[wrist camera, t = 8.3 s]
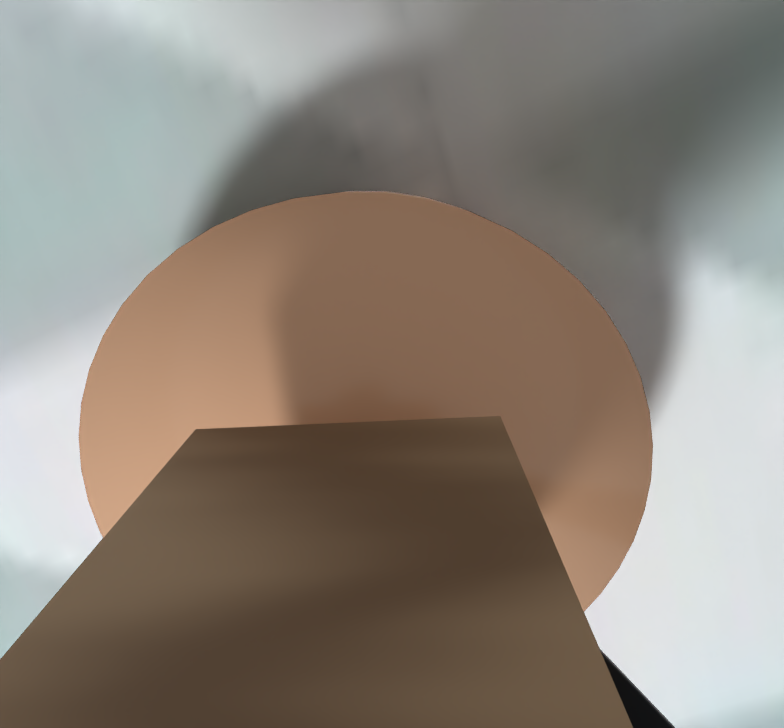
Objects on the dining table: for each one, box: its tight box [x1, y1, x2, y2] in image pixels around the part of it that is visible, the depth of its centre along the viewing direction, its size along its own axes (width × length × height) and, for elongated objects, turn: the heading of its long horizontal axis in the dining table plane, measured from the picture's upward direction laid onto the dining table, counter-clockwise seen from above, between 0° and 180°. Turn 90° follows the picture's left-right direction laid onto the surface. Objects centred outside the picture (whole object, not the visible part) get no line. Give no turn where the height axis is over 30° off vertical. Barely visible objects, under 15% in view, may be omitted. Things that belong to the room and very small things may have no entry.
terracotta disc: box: [79, 191, 653, 611], centre depth 12 cm, size 12×12×3 cm
